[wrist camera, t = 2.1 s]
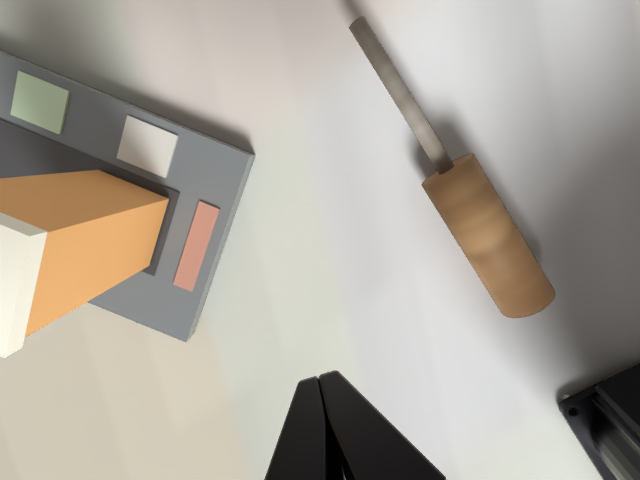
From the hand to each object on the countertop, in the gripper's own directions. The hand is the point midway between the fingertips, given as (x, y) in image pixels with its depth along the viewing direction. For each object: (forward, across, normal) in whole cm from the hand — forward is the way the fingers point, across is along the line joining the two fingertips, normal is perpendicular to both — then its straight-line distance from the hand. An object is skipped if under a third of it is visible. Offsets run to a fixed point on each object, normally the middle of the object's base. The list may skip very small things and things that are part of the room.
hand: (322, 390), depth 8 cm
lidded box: (+12, +7, -2) cm, 14 cm away
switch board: (+14, +9, -3) cm, 17 cm away
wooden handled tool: (+10, -8, 0) cm, 13 cm away
